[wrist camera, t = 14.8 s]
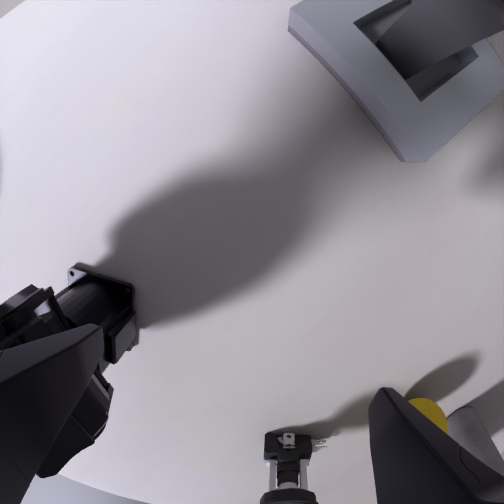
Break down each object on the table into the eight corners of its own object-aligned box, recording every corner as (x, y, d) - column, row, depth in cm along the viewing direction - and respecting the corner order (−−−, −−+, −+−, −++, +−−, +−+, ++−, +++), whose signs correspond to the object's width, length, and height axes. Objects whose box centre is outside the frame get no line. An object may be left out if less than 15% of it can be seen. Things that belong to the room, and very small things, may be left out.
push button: (329, 423, 25) (341, 506, 16) (321, 451, 27) (328, 526, 17) (262, 424, 26) (256, 510, 16) (261, 452, 27) (255, 528, 18)
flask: (437, 416, 25) (494, 552, 6) (476, 400, 24) (542, 518, 5) (417, 474, 29) (446, 576, 10) (450, 461, 28) (486, 556, 9)
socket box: (400, 161, 18) (426, 162, 14) (287, 30, 16) (290, 4, 12) (487, 86, 15) (516, 79, 12) (394, -27, 13) (410, -49, 9)
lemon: (431, 374, 23) (465, 431, 15) (428, 409, 25) (453, 462, 17) (380, 393, 24) (404, 456, 16) (381, 426, 25) (399, 484, 18)
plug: (405, 80, 16) (537, 15, 3) (374, 44, 15) (475, -58, 3) (440, 55, 14) (560, -2, 2) (412, 21, 14) (512, -62, 2)
